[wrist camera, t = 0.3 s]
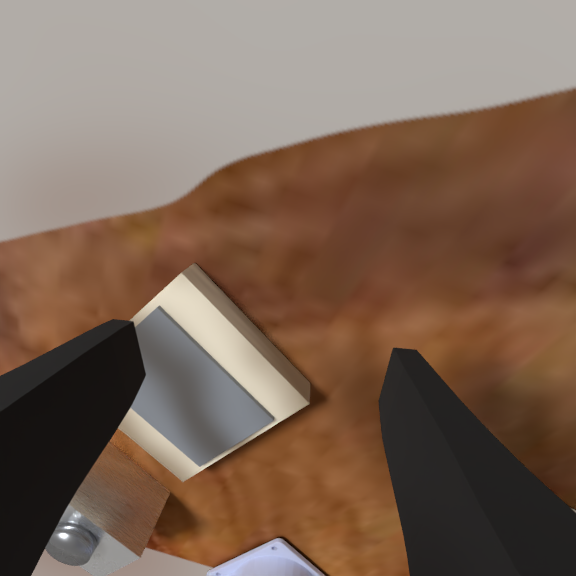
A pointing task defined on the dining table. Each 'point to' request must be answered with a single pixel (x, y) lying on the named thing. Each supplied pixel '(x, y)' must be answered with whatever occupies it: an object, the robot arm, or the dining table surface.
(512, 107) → the dining table surface
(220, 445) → the stand
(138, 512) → the housing
